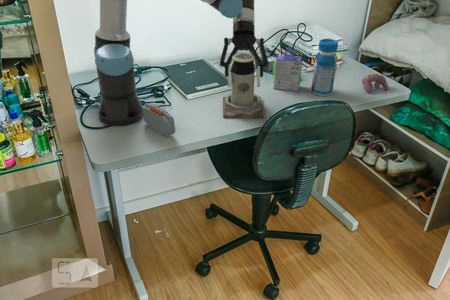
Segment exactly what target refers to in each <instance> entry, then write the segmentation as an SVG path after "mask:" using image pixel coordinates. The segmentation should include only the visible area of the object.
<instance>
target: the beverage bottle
mask: <svg viewBox="0 0 450 300" xmlns="http://www.w3.org/2000/svg"><path fill="white" fill-rule="evenodd" d="M338 46H339V42H338V40H336V39H332V38H322V39H320V40H319V41H318V52H317V54H316V55H315V56H314V60H315V62H314V63H313V73H312V74H313V75H312V82H311V87H310V91H311V92H312V94H314V95H317V96H319V97H327V96H330V95H332V94H333V90H334V83H335V78H336V77H335V76H336V71H337V68H338V65H337V62H338V55H337V51H338V48H339V47H338Z"/></svg>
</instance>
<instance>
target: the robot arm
mask: <svg viewBox="0 0 450 300" xmlns="http://www.w3.org/2000/svg"><path fill="white" fill-rule="evenodd" d="M200 1H201V2H203V3H206V4H208V6H211V7H212V8H213V9H215V10H216V11H218V12H220V14H221V16H223V17H225V18H227V19H232V36H231V38H228V37H223V44H224V45H223V49H222V53H221V56H220V60H219V67H220V68H221V67H222V68H224V76H225V77H226V78H227V81H228V82H227V84H228V85H227V86H228V88H231V66H232V63H233V59H232V57H233V56H234V55H236V54H238V52H239V51H246V52H247V51H249V54H251V55H253V56H254V58H255V59H254V61H255V63H256V65H257V68H256V81H257V82H256V87H257V88H260V87H261V78H263V77H264V68H267V67H268V66H269V59H268V56H267V53H266V52H267V51H266V49H265V46H264V41H265V39H264V38H263V37H261V38H257V37H256V35H255V27H256V26H255V0H200ZM127 10H128V0H99V29H97V30H96V31H95V32H94V33H95V34H94V41H95V42H94V48H93V50H94V51H93V53H94V63H95V64H94V65H95V67H96V74H97V79H98V85H99V86H98V87H99V92H100V99H99V100H100V101H99V105H98V109H97V114H98V120H99V121H100V122H101V123H102V124H104V125H108V126H112V127H125V126H129V125H133V124H135V123H137V122H139V121H140V120H142V118H143V108H144V107H143V104H142V102H141V100H140V98H139V96H138V94H137V85H136V77H135V69H134V61H135V60H134V55H133V53H132V51H131V34H130V33H129V32H128V31H127ZM231 43H232V44H233V46H234V47H233V49H232V51H231V52H230V54H229V56H228V58H227V60H226V56H227V52H228V49H229V46H230V45H231ZM255 44H257V46H259V51H260V55H261V58H260V56H259V54H258V52H257V50H256V49H255V46H254V45H255ZM225 60H226V61H225Z"/></svg>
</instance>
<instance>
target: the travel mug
mask: <svg viewBox="0 0 450 300" xmlns="http://www.w3.org/2000/svg"><path fill="white" fill-rule="evenodd" d="M232 59H233V60H232V63H231V65H230V66H231V86H230V90H231V91H230V94H231V104H233V105H235V106H252V105H253V103H254V94H255V75H256V66H255V63H254V61H255V58H254V56H253V55H252V54H251V53H236V55H234V56H233V57H232Z"/></svg>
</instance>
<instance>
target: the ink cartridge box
mask: <svg viewBox="0 0 450 300" xmlns="http://www.w3.org/2000/svg"><path fill="white" fill-rule="evenodd" d="M288 53H291V54H288ZM295 54H296V50H288V49H285V52H284V55H283V54H281V55H280V54H277V56H276V57H275V58H276V59H275V60H276V63H275V76H274V75H273V78H274V79H273V89H275V90H283V91H284V90H286V91H293V92H294V91H296V92H298V91H299V88H300V84H301V78H302V77H301V75H302V68H303V66H302V65H303V56H299V55H295Z"/></svg>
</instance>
